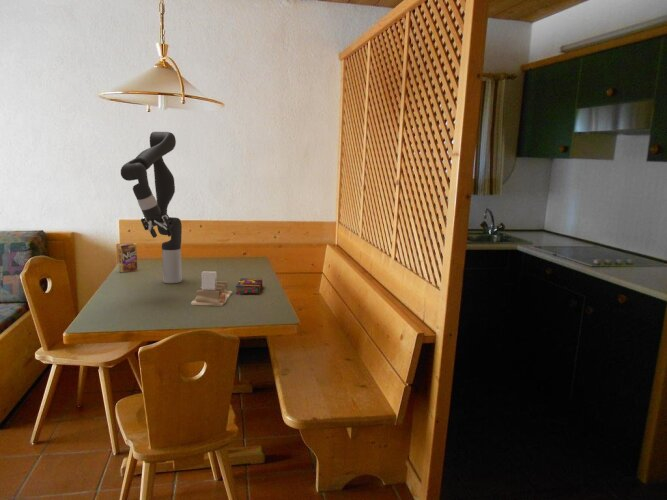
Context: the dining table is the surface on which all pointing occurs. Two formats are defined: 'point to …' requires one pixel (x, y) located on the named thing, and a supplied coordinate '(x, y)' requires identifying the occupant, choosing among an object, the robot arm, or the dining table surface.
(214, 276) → the aluminium block
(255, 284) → the decorative book
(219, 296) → the slot rack
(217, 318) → the dining table surface
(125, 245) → the candy box
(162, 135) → the robot arm
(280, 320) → the dining table surface
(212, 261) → the dining table surface
